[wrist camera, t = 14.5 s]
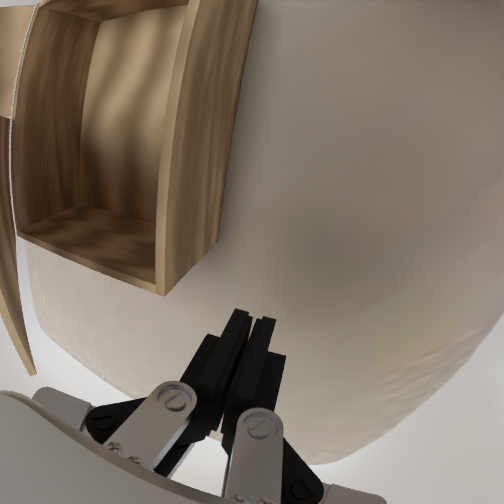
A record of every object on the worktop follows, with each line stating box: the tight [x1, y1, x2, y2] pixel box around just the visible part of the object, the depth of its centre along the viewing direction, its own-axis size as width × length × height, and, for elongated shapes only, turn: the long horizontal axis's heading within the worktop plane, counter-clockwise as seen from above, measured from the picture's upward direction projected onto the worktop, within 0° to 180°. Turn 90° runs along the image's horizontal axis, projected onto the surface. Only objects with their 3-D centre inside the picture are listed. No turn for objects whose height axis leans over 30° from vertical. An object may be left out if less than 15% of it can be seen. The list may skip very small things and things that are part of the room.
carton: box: [11, 0, 258, 296], centre depth 21 cm, size 22×28×12 cm
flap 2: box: [0, 116, 37, 376], centre depth 14 cm, size 22×14×1 cm
